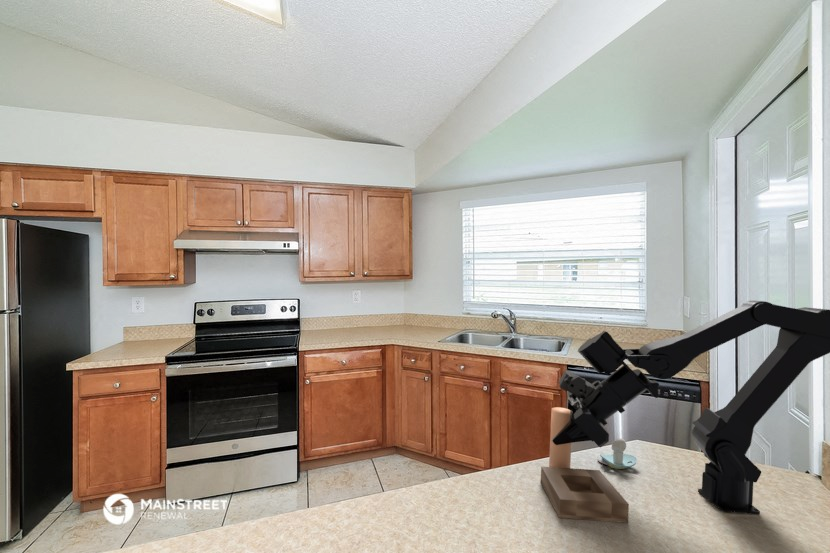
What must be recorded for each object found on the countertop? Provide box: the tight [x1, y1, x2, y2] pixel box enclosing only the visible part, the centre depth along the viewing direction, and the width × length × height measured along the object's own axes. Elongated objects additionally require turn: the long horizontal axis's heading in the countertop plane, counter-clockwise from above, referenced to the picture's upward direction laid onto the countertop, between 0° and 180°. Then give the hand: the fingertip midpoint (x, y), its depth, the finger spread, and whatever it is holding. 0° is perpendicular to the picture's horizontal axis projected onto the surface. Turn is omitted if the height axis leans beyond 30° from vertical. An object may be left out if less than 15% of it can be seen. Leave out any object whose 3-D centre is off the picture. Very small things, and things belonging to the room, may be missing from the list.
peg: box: [548, 406, 572, 468], centre depth 78 cm, size 4×4×12 cm
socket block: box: [540, 466, 630, 523], centre depth 68 cm, size 11×11×3 cm
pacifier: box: [597, 438, 637, 470], centre depth 83 cm, size 7×6×6 cm
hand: (553, 438), depth 79 cm, fingers open, 4 cm apart
